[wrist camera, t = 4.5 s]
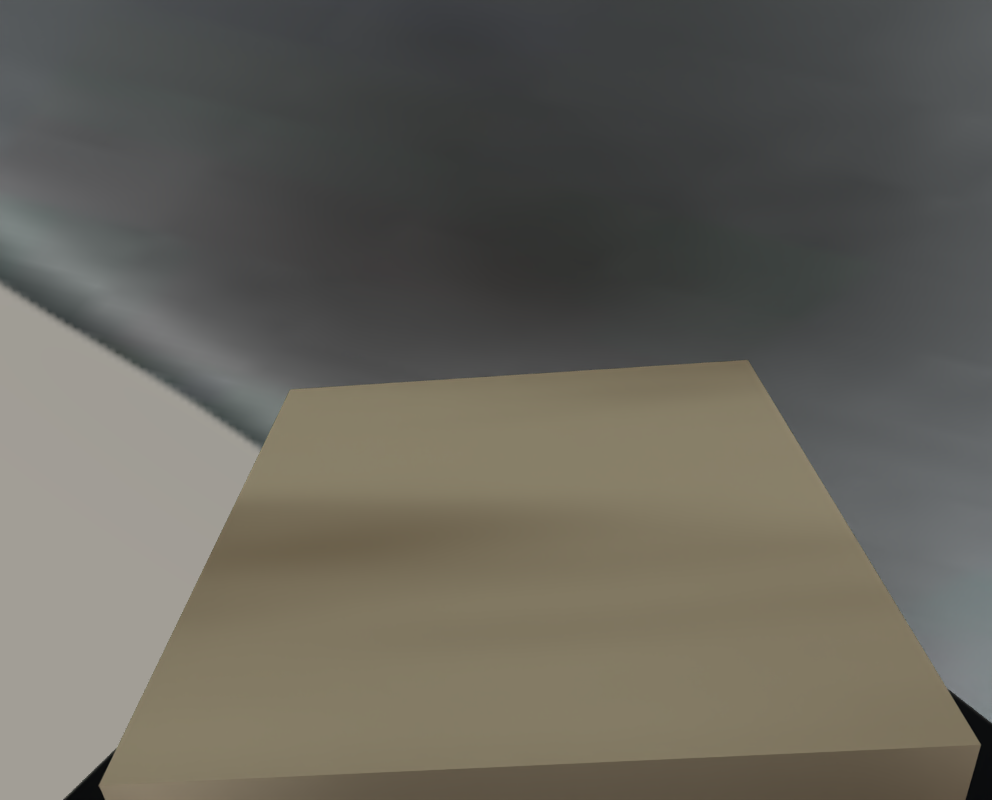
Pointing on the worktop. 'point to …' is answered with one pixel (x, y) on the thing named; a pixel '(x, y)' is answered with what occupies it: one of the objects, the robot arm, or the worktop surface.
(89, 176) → the worktop surface
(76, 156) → the worktop surface
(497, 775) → the birch block
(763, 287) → the worktop surface
